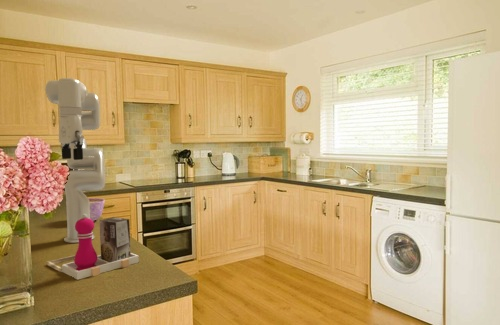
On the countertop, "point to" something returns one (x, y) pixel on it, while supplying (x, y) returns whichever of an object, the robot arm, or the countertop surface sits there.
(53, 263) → the tray frame
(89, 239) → the pepper mill
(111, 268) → the frame
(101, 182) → the robot arm
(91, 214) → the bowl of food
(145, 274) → the countertop surface
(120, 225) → the coffee box
